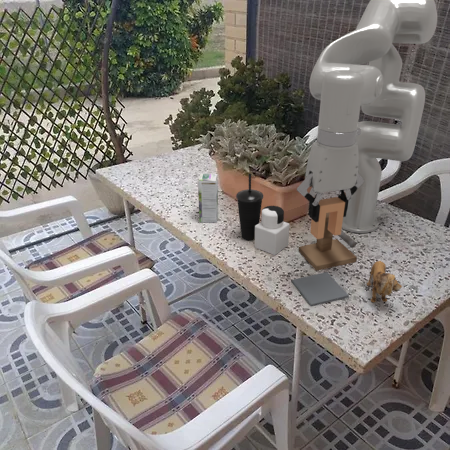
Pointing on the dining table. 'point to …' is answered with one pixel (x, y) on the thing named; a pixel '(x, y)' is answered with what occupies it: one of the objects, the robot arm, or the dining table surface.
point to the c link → (335, 217)
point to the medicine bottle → (272, 230)
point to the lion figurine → (382, 281)
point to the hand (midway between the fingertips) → (327, 216)
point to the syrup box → (208, 197)
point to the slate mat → (319, 289)
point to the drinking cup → (249, 211)
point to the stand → (328, 250)
